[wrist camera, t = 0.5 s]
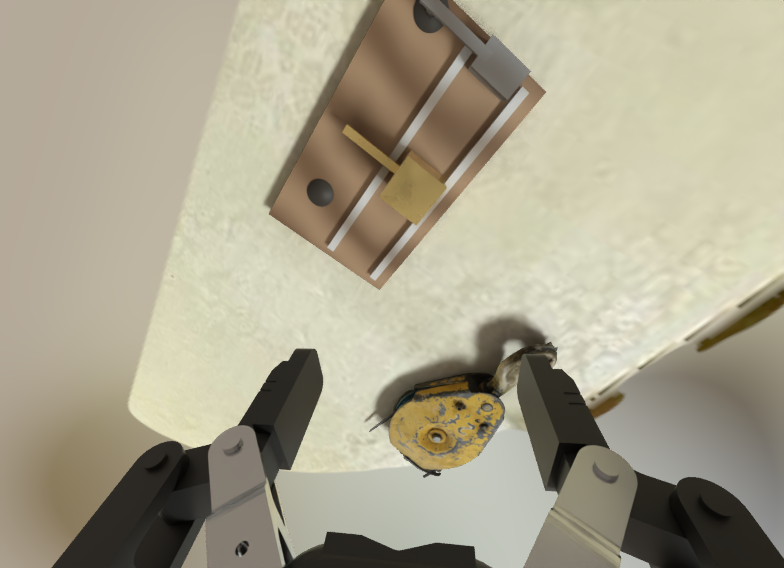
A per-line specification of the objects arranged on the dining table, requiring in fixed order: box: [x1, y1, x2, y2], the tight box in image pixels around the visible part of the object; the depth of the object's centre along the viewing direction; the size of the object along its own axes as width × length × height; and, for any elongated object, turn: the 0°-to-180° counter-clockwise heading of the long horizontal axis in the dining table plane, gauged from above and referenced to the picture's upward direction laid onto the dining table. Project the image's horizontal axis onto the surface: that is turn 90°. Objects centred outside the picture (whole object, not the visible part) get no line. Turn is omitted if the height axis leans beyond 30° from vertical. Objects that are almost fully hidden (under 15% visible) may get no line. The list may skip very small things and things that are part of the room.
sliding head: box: [342, 124, 447, 226], centre depth 28 cm, size 4×10×6 cm, turn 54°
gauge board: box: [269, 0, 546, 290], centre depth 30 cm, size 25×15×4 cm, turn 144°
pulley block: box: [369, 342, 558, 478], centre depth 44 cm, size 14×6×30 cm
